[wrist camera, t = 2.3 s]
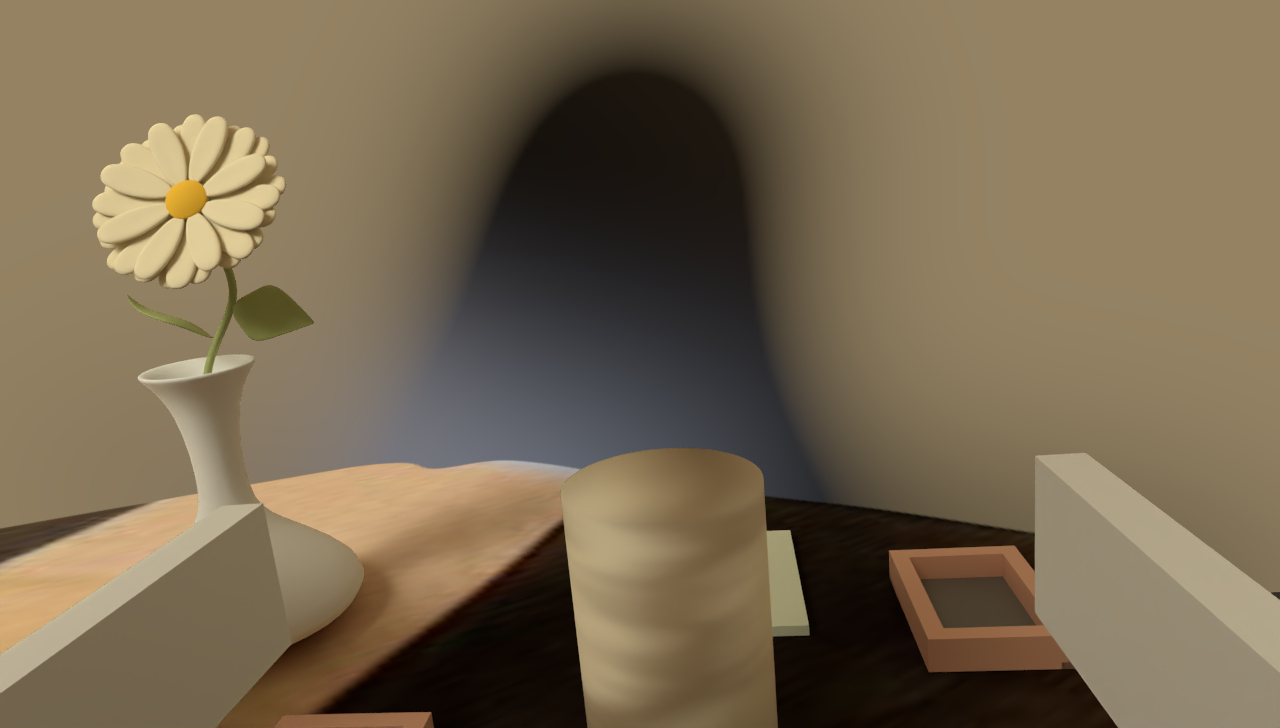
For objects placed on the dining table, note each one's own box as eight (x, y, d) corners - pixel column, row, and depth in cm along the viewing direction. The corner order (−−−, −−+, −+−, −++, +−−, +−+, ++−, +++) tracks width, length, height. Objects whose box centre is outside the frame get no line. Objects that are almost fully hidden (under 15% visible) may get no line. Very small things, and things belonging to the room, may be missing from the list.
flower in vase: (71, 673, 40) (-76, 134, 34) (260, 564, 50) (171, 134, 44) (272, 724, 35) (138, 97, 29) (439, 591, 45) (363, 106, 39)
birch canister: (587, 901, 25) (541, 529, 22) (612, 762, 31) (577, 453, 28) (791, 902, 24) (769, 519, 22) (776, 759, 30) (758, 443, 27)
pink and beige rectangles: (160, 927, 25) (149, 886, 25) (431, 553, 50) (428, 529, 49) (1275, 936, 22) (1280, 889, 22) (982, 530, 46) (982, 505, 46)
